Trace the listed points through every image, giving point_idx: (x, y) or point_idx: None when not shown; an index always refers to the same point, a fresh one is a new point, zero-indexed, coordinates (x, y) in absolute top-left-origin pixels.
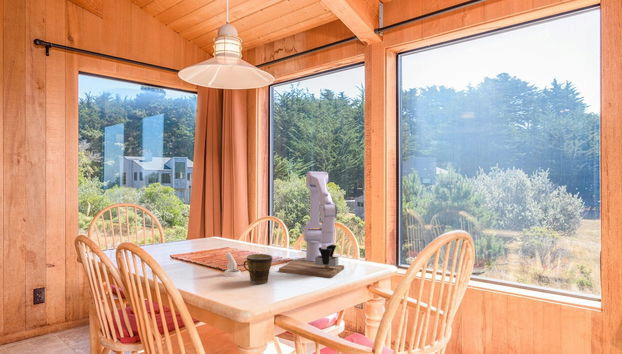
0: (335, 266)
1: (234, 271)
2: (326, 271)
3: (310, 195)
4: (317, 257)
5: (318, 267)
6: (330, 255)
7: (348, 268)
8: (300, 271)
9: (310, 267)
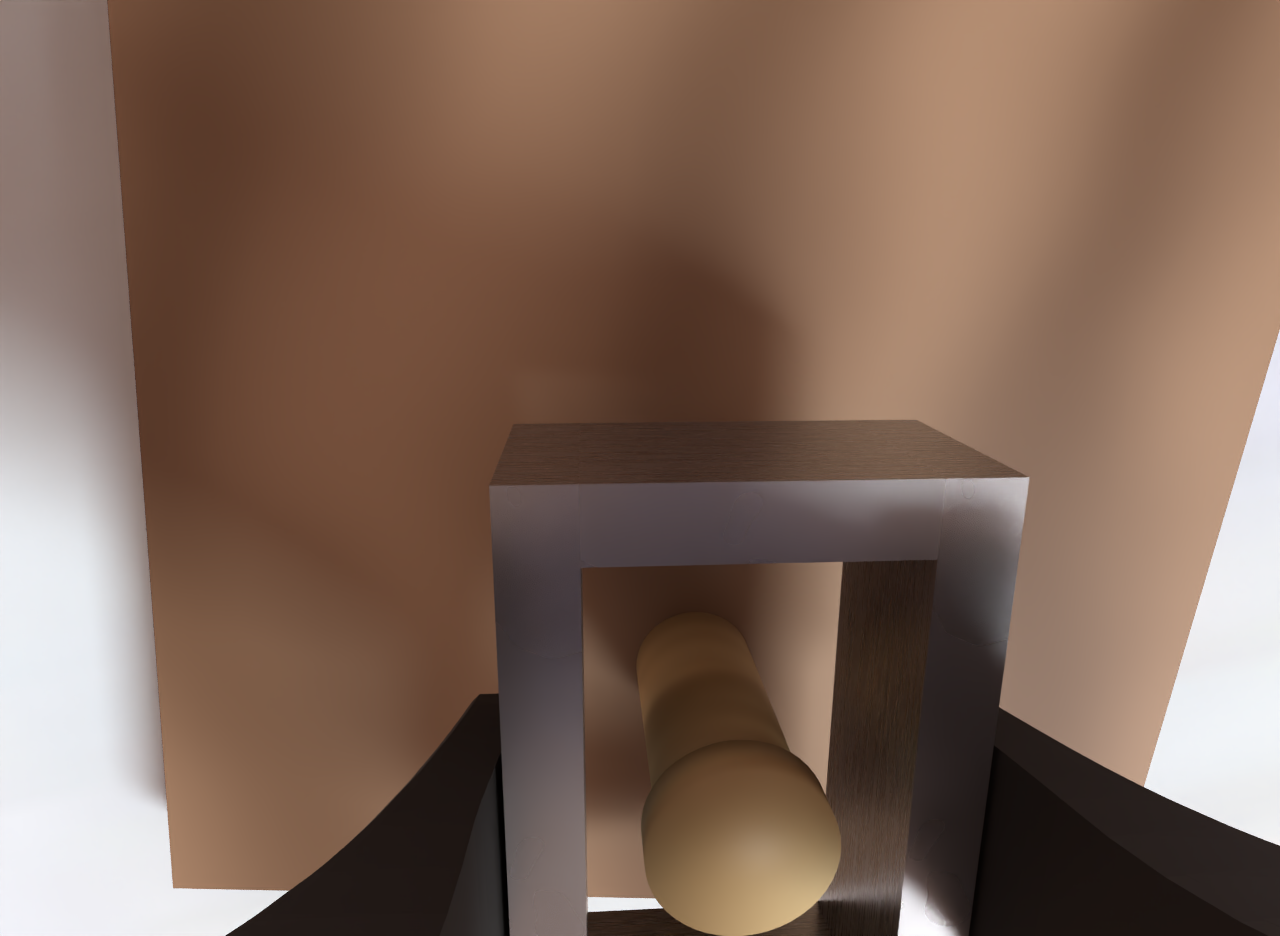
0: None
1: None
2: (379, 726)
3: None
4: (597, 550)
5: None
6: (998, 922)
7: None
8: (127, 53)
9: (642, 226)
